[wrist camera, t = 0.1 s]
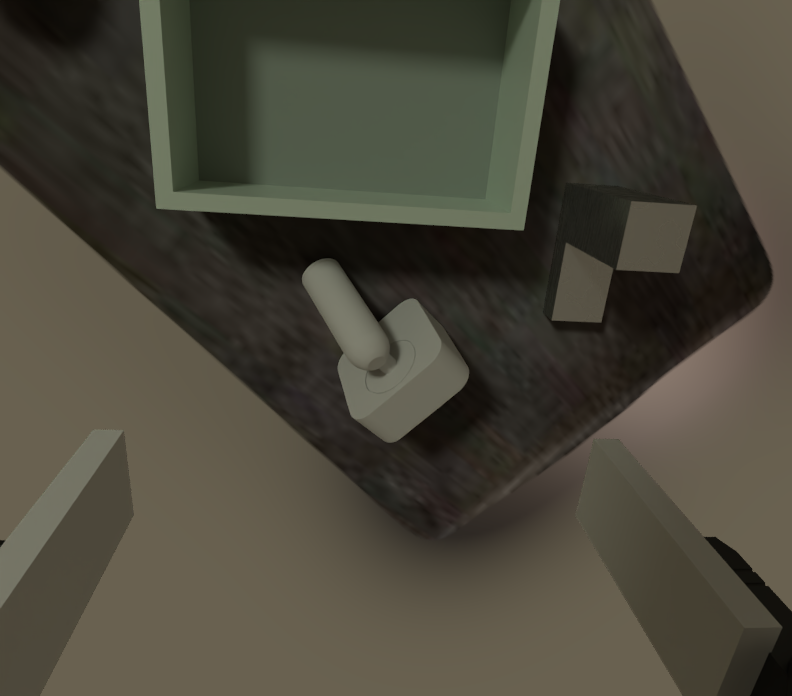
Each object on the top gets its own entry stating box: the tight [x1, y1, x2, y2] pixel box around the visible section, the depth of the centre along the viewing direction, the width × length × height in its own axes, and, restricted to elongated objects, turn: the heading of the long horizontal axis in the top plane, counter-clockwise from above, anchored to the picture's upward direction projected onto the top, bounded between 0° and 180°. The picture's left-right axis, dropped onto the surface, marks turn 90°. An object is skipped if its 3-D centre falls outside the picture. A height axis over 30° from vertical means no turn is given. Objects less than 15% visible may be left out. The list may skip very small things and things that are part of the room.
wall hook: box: [302, 258, 469, 442], centre depth 40 cm, size 8×10×10 cm
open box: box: [139, 0, 560, 230], centre depth 34 cm, size 15×22×7 cm
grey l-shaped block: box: [543, 183, 697, 322], centre depth 39 cm, size 10×4×10 cm, turn 176°
